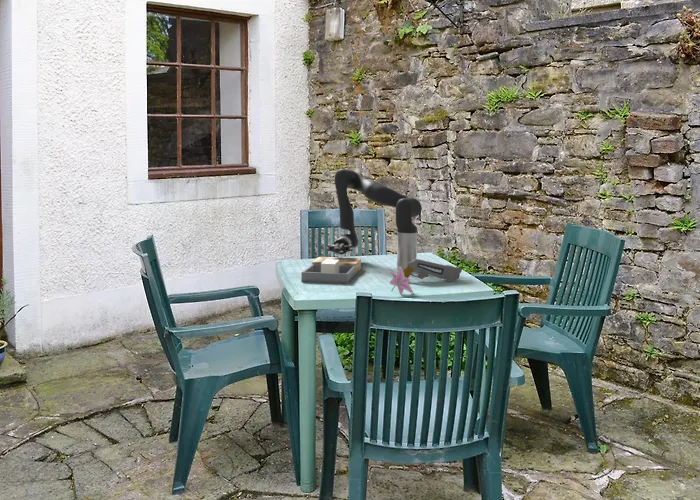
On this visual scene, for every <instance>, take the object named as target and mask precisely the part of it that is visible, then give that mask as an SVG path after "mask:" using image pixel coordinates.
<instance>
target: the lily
mask: <svg viewBox="0 0 700 500" xmlns="http://www.w3.org/2000/svg"><path fill="white" fill-rule="evenodd" d="M403 270H404V269H402V268H401V266H400V267H399V269H398V268H397V272H394V271H392V270H390V269H389V270H388V271H389V273H390V275H391V276H392V278H391V280H390V281H389V285H391V286H393V288H392V289H391V291H393V290H394V289H395V287H397V290H398V293H399V295H400V296H402V295H403V292H404V290H405V291H407V292H409V293H411V294H414V290H413V289H412V287H411V285H410V284H409V283H410V282H411V279H410V277H408V278H406V277H404V272H403Z"/></svg>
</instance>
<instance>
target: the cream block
mask: <svg viewBox="0 0 700 500" xmlns="http://www.w3.org/2000/svg"><path fill="white" fill-rule="evenodd" d="M321 273H339V260H332V259H326V260H325V261H323V262H322V263H321Z"/></svg>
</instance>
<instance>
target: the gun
mask: <svg viewBox="0 0 700 500" xmlns="http://www.w3.org/2000/svg"><path fill="white" fill-rule="evenodd" d="M402 270H403V272H404V277H406V278H410V276H412V277H413V278H417V279H419V280H423V279H424V278H428V277H429V276H432V277H436V278H438V279H444V280H446V281H448V282H455V281H457V280H458V279H459V278H460V276H461V275H460V274H461V273H462V270H463V268H461V267H460V266H453V265H449V264H441V263H437V262H433V261H429V260H424V259H419V258H417V259H414V260H413V261H412V262H409V263H408V267H407V268H405V269H402ZM414 271H416V272H417V275H415V274H413V272H414Z"/></svg>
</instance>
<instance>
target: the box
mask: <svg viewBox="0 0 700 500" xmlns="http://www.w3.org/2000/svg"><path fill="white" fill-rule="evenodd" d="M300 275H301V277H300V278H301V279H300V280H301V282H304V283H305V282H307V283H329V284H332V283H333V284H349V283H350V281H352V279H354V277H355V276H356V275H357V274H356V266H344V265H339V273H321V265H318V264H312V263H311V264H310V265H309V266H308V267H307V268H305V269H304V270H302V271H301V274H300Z"/></svg>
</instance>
